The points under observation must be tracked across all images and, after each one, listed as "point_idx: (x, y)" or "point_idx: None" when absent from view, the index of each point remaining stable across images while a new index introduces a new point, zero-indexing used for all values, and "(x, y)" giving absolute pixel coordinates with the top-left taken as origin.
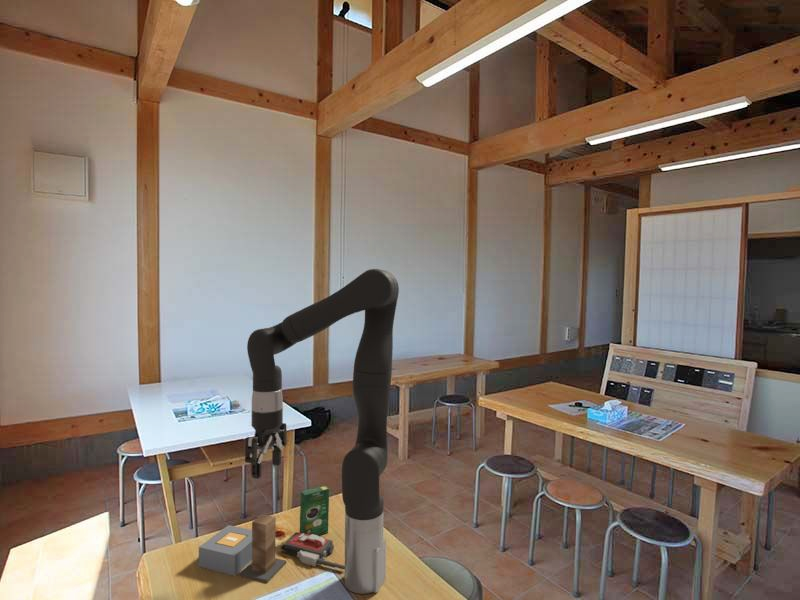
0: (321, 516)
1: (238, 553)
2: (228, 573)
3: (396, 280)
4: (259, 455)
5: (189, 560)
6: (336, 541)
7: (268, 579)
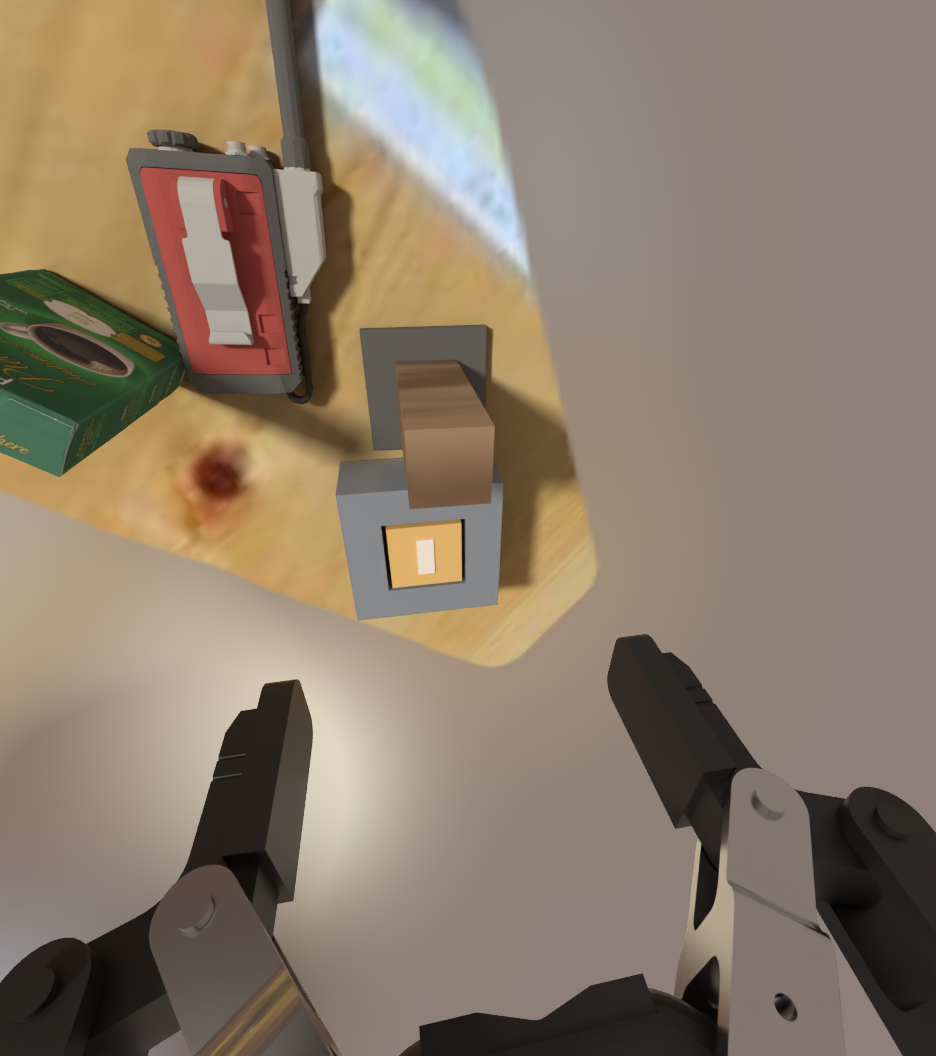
0: (33, 307)
1: None
2: None
3: None
4: (806, 893)
5: None
6: (73, 169)
7: (481, 326)
